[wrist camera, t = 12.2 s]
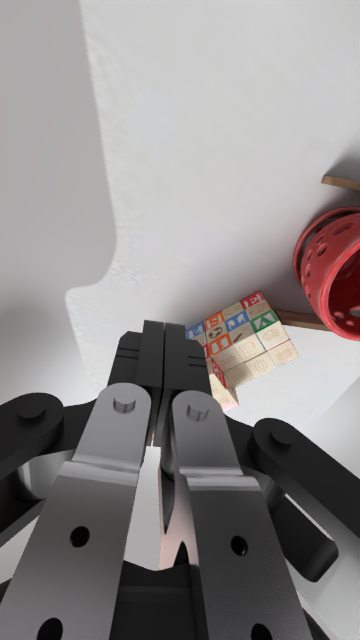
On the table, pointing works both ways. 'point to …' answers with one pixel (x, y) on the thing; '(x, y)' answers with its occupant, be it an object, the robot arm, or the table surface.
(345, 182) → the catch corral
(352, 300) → the plant pot
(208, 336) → the stack of blocks
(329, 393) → the table surface
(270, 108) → the table surface
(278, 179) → the table surface
